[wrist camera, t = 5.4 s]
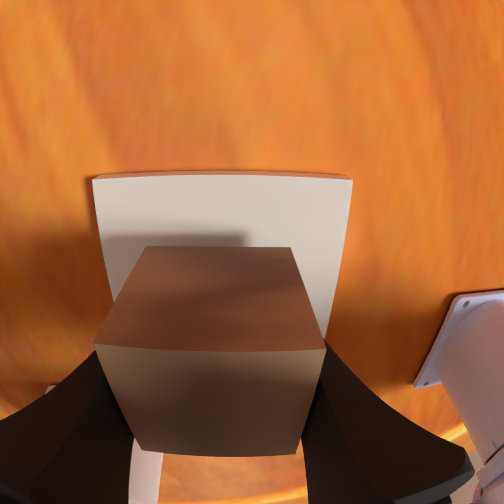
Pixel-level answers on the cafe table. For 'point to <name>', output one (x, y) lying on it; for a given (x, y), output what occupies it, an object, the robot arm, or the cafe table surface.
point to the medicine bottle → (142, 473)
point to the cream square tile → (227, 219)
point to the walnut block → (213, 351)
